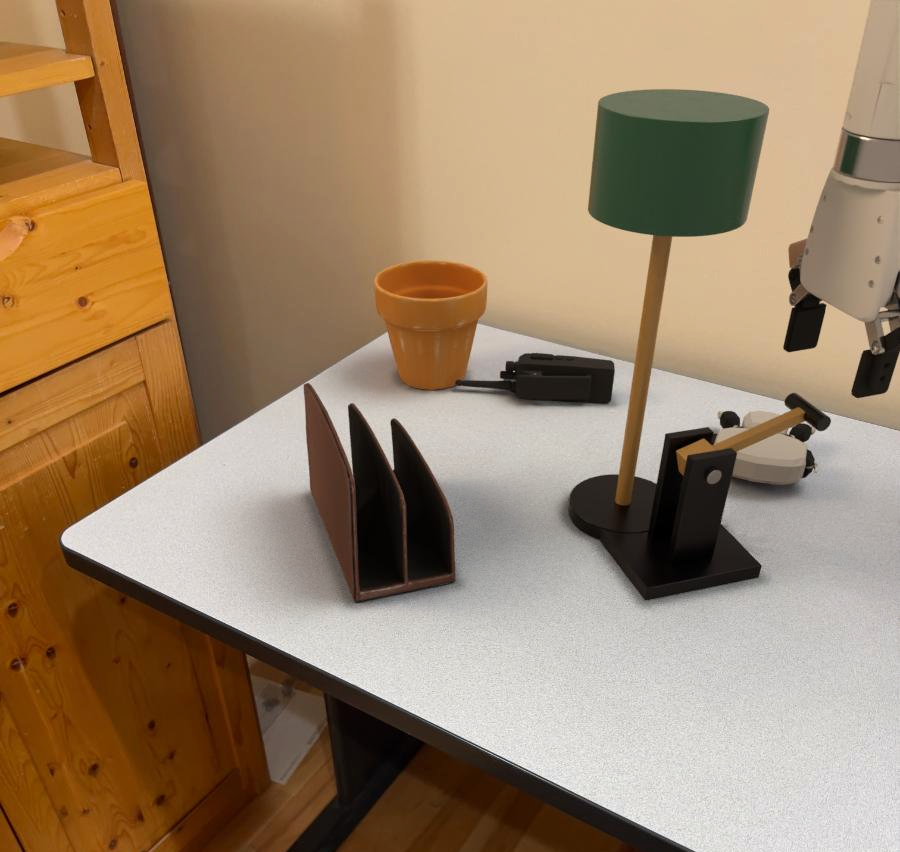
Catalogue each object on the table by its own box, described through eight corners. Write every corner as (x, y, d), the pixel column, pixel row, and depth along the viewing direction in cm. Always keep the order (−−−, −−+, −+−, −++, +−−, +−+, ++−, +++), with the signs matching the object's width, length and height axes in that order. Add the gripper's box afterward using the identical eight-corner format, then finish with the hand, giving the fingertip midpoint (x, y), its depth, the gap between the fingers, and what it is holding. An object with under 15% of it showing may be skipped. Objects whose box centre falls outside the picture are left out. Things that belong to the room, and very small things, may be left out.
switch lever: (798, 407, 82) (797, 385, 81) (831, 432, 79) (831, 409, 77) (671, 463, 82) (668, 443, 80) (698, 491, 78) (695, 470, 77)
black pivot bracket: (705, 521, 91) (730, 409, 83) (758, 578, 84) (792, 460, 76) (599, 541, 88) (614, 426, 80) (645, 601, 81) (667, 481, 73)
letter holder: (353, 604, 81) (342, 471, 72) (310, 494, 95) (296, 371, 86) (457, 583, 83) (458, 451, 74) (399, 478, 98) (394, 358, 89)
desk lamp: (668, 480, 98) (740, 88, 74) (698, 549, 87) (793, 121, 63) (551, 482, 97) (585, 89, 73) (567, 552, 87) (614, 122, 63)
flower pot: (427, 410, 110) (425, 308, 102) (357, 374, 118) (350, 277, 110) (506, 377, 118) (511, 280, 109) (436, 345, 126) (435, 252, 118)
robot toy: (709, 431, 108) (691, 483, 96) (717, 396, 105) (699, 445, 94) (814, 450, 105) (808, 506, 93) (825, 414, 102) (819, 467, 90)
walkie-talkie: (616, 348, 109) (455, 341, 110) (613, 397, 108) (451, 389, 110) (611, 367, 115) (458, 359, 116) (608, 413, 114) (455, 405, 116)
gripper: (1018, 179, 61) (938, 407, 71) (857, 129, 73) (810, 328, 84) (927, 191, 59) (859, 422, 70) (778, 138, 72) (740, 339, 83)
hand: (832, 370), depth 77 cm, fingers open, 9 cm apart
